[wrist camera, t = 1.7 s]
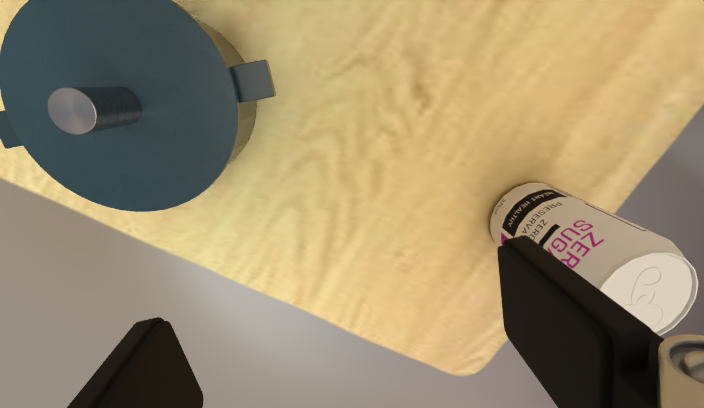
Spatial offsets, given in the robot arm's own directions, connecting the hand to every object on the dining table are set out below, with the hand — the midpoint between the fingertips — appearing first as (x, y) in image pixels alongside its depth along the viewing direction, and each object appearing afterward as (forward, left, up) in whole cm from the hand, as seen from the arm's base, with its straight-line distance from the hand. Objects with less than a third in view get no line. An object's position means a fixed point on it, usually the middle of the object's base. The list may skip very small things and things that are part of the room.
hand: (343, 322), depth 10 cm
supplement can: (+11, +19, -26) cm, 33 cm away
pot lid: (-7, -12, -17) cm, 22 cm away
